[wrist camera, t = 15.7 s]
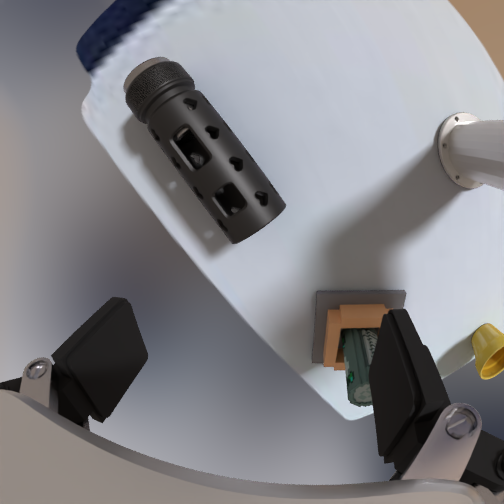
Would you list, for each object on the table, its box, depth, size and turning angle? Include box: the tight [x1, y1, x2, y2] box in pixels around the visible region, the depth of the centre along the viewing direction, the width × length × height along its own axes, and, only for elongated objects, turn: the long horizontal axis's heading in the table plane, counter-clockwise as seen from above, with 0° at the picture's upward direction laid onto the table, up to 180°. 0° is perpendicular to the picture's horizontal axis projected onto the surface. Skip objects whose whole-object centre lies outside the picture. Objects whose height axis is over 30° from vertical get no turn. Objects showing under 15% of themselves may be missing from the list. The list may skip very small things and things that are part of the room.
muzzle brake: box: [124, 57, 286, 244], centre depth 34 cm, size 10×28×10 cm, turn 36°
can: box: [341, 328, 378, 407], centre depth 38 cm, size 6×6×15 cm
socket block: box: [312, 290, 406, 370], centre depth 44 cm, size 16×16×5 cm
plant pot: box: [471, 323, 504, 379], centre depth 37 cm, size 10×10×10 cm
